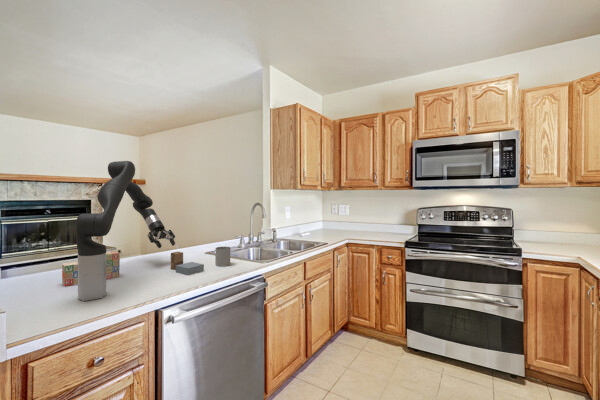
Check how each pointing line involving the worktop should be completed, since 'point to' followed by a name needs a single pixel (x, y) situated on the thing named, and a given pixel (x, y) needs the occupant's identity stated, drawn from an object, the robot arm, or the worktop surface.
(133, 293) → the worktop surface
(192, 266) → the slate block
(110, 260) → the stack of blocks
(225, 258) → the cup
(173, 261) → the walnut block
